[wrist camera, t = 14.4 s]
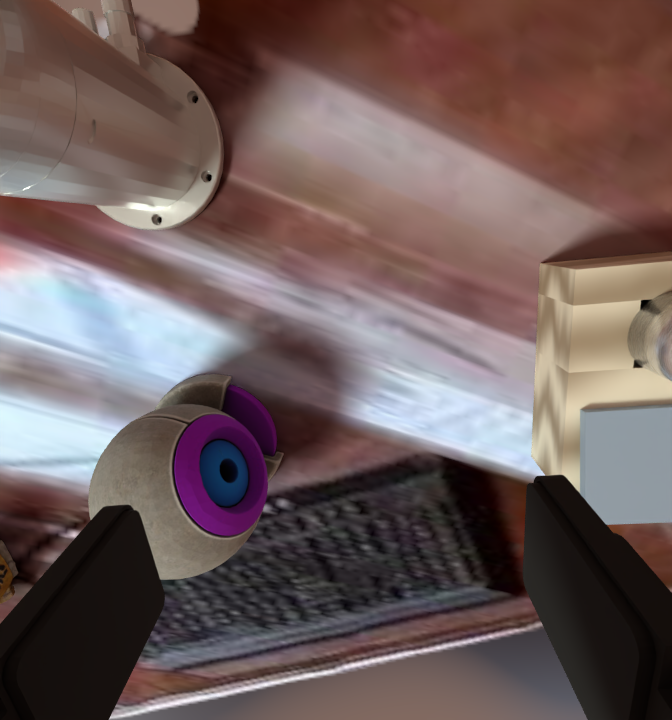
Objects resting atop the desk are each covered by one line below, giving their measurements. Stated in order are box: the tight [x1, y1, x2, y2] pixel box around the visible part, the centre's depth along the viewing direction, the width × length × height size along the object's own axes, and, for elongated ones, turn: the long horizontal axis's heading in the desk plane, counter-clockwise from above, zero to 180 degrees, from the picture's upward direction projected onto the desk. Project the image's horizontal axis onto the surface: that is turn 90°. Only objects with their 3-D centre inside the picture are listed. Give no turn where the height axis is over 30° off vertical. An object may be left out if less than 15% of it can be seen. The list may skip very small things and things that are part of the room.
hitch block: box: [531, 251, 672, 493], centre depth 33 cm, size 18×14×6 cm
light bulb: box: [627, 291, 672, 381], centre depth 29 cm, size 6×6×10 cm
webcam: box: [88, 374, 283, 579], centre depth 33 cm, size 13×13×15 cm
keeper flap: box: [580, 404, 672, 525], centre depth 31 cm, size 9×12×1 cm
